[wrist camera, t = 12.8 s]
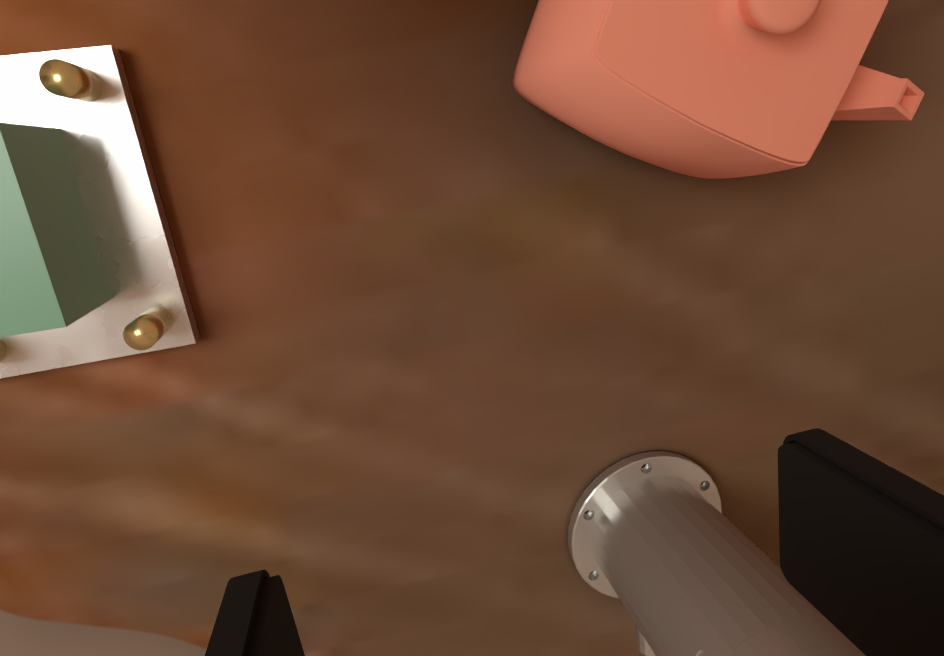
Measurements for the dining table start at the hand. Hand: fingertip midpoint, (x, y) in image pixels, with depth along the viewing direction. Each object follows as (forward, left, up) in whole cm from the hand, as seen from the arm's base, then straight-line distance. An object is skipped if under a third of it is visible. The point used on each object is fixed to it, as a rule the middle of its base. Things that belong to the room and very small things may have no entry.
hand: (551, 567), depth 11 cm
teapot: (+11, -17, -29) cm, 35 cm away
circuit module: (+6, +18, -27) cm, 33 cm away
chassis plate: (+6, +18, -28) cm, 34 cm away
